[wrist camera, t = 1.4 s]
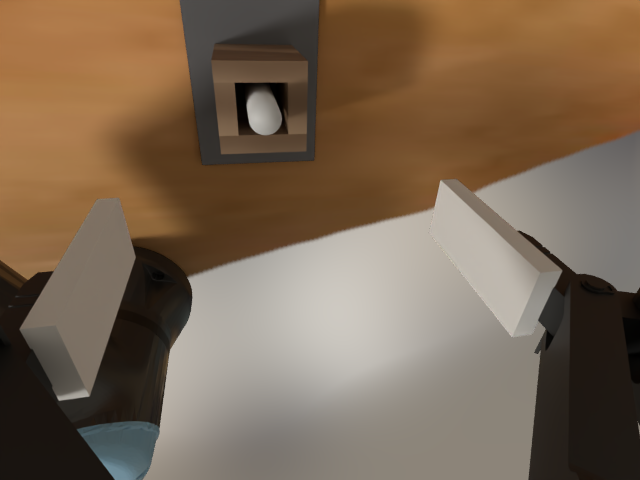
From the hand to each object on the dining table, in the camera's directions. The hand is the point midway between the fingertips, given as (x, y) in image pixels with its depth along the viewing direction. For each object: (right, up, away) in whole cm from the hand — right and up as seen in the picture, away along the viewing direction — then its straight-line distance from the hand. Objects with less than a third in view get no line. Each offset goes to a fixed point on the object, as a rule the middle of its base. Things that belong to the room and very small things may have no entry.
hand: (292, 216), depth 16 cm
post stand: (-5, +14, +22) cm, 27 cm away
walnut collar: (-5, +14, +21) cm, 26 cm away
